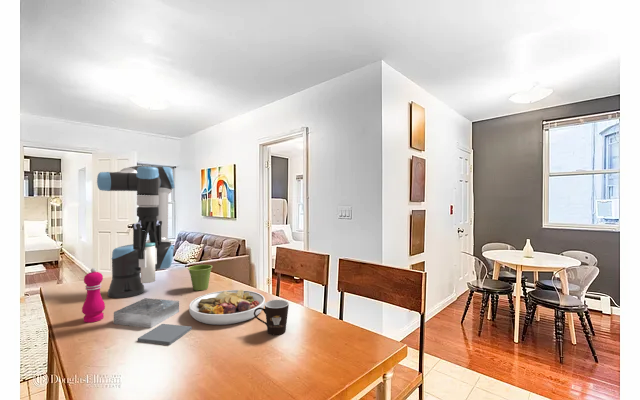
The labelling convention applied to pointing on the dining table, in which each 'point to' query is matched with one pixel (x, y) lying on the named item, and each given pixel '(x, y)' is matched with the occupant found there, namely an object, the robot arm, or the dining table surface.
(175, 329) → the pad
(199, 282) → the plant pot
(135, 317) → the housing
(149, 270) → the plug
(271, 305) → the coffee mug
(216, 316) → the bowl
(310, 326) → the dining table surface
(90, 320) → the pepper mill
